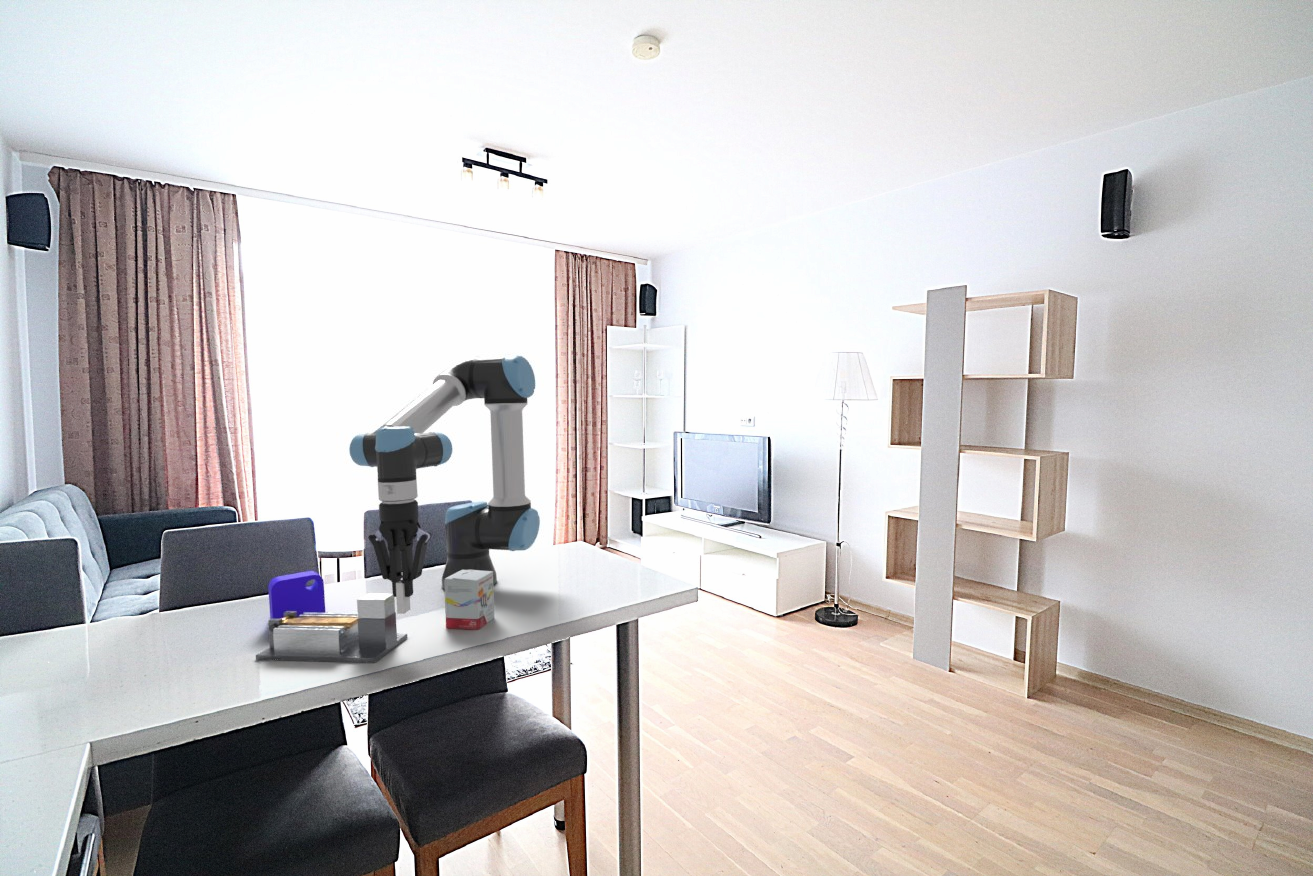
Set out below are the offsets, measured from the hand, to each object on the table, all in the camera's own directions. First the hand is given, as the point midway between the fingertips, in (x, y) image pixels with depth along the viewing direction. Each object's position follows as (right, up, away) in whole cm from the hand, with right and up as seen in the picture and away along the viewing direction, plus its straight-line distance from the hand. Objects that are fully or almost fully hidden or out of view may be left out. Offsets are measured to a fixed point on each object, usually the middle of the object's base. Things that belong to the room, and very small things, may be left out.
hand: (403, 611), depth 130 cm
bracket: (-37, -8, +23) cm, 45 cm away
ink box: (+9, -7, +16) cm, 20 cm away
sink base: (-16, -9, +2) cm, 19 cm away
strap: (-20, -4, +2) cm, 20 cm away
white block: (-6, -1, +1) cm, 6 cm away
